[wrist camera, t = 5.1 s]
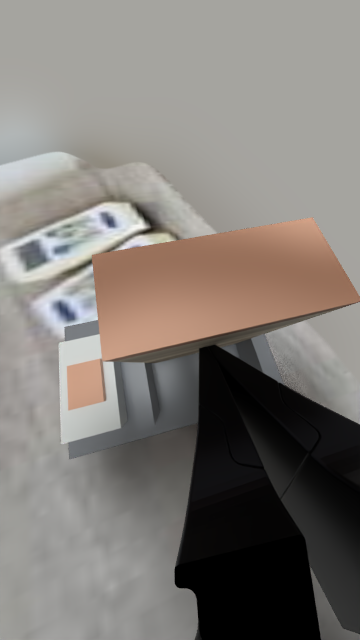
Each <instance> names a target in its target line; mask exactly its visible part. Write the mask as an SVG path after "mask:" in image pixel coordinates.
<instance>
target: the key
mask: <svg viewBox="0 0 360 640" xmlns="http://www.w3.org/2000/svg"><path fill="white" fill-rule="evenodd" d="M92 260H93V271H94V281H95V292H96V302H97V312H98V323H99V333H100V344H101V354H102V362H137V363H158V362H162V361H166V360H170V359H174V358H178V357H183V356H187V355H191V354H195V353H199V348H203V347H207V346H211V345H217V346H219V347H224V346H228V345H232V344H235V343H238V342H241V341H244V340H247V339H250V338H253V337H256V336H259V335H262V334H265V333H268V332H271V331H274V330H277V329H280V328H283V327H286V326H289V325H292V324H295V323H298V322H301V321H304V320H307V319H310V318H313V317H316V316H319V315H322V314H325V313H327V312H331V311H334V310H337V309H340V308H343V307H346V306H349V305H351V304H355V303H358V302H360V296H359V295H358V293H357V291H356V290H355V288H354V286H353V285H352V283H351V281H350V280H349V278H348V276H347V274H346V273H345V271H344V269H343V268H342V266H341V265H340V263H339V261H338V259H337V258H336V256H335V254H334V253H333V251H332V249H331V248H330V246H329V244H328V243H327V241H326V239H325V238H324V236H323V234H322V232H321V231H320V229H319V227H318V226H317V224H316V222H315V221H314V219H313V218H307V219H300V220H295V221H289V222H283V223H277V224H271V225H265V226H259V227H253V228H248V229H242V230H236V231H230V232H224V233H218V234H212V235H206V236H200V237H195V238H189V239H183V240H177V241H171V242H165V243H159V244H153V245H148V246H142V247H136V248H130V249H124V250H118V251H112V252H106V253H101V254H95V255H92Z"/></svg>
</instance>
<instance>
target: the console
mask: <svg viewBox="0 0 360 640" xmlns="http://www.w3.org/2000/svg"><path fill="white" fill-rule="evenodd" d="M221 348H222V349H224V350H226V351H227V352H229V353H231V354H232V355H234V356H236V357H237V358H239V359H241V360H243V361H244V362H246V363H248V364H249V365H251V366H253V367H254V368H256V369H258V370H260V371H261V372H263V373H265V374H266V375H268V376H270V377H271V378H273V379H275V380H277V381H278V383H279V382H280V383H282V384H283V385H284V383H283V381H282V378H281V375H280V373H279V370H278V368H277V365H276V363H275V360H274V357H273V355H272V352H271V350H270V347H269V344H268V342H267V339H266V337H265V334H262V335H259V336H256V337H253V338H250V339H247V340H244V341H241V342H238V343H235V344H232V345H228V346H224V347H221ZM59 376H60V419H61V444H65V443H68V442H69V459H72V458H76V457H79V456H83V455H86V454H90V453H94V452H97V451H101V450H104V449H108V448H111V447H115V446H118V445H122V444H125V443H129V442H132V441H136V440H139V439H143V438H146V437H150V436H153V435H157V434H160V433H164V432H167V431H171V430H175V429H178V428H182V427H185V426H189V425H192V424H196V423H198V390H199V353H195V354H191V355H187V356H183V357H178V358H174V359H170V360H166V361H162V362H158V363H137V362H102V354H101V344H100V333H99V323H98V320H96V321H91V322H87V323H82V324H77V325H72V326H67V327H65V342H61V343H59Z"/></svg>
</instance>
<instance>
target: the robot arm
mask: <svg viewBox="0 0 360 640" xmlns="http://www.w3.org/2000/svg"><path fill="white" fill-rule="evenodd" d="M309 564H310V565H309ZM310 566H311V568H312V570H313V572H314V574H315V576H316V578H317V580H318V582H319V584H320V586H321V588H322V590H323V592H324V593H325V595H326V597H327V599H328V601H329V603H330V605H331V607H332V609H333V611H334V613H335V615H336V617H337V618H338V620H339V622H340V624H341V626H342V627H343V628H344V629H347V630H350V631H352V632H355V633H358V634H360V424H358V423H356V422H354V421H352V420H350V419H348V418H346V417H344V416H342V415H340V414H338V413H336V412H334V411H332V410H330V409H328V408H326V407H324V406H322V405H320V404H318V403H316V402H314V401H312V400H310V399H308V398H306V397H305V396H303V395H301V394H299V393H297V392H296V391H294V390H292V389H290V388H289V387H287V386H285V385H283V384H282V383H280V382H279V383H278V381H277V380H275V379H273V378H271V377H270V376H268V375H266V374H265V373H263V372H261V371H260V370H258V369H256V368H254V367H253V366H251V365H249V364H248V363H246V362H244V361H243V360H241V359H239V358H237V357H236V356H234V355H232V354H231V353H229V352H227V351H226V350H224V349H222V348H221V347H219V346H217V345H211V346H207V347H203V348H199V390H198V430H197V439H196V448H195V455H194V462H193V469H192V477H191V484H190V491H189V498H188V505H187V511H186V517H185V523H184V528H183V533H182V538H181V543H180V548H179V552H178V557H177V561H176V566H175V585H176V586H177V587H178V588H188V589H190V590H192V591H193V592H194V593H195V595H196V598H197V608H198V630H197V634H196V637H195V640H321V637H320V631H319V624H318V618H317V611H316V605H315V598H314V592H313V585H312V578H311V572H310Z"/></svg>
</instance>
